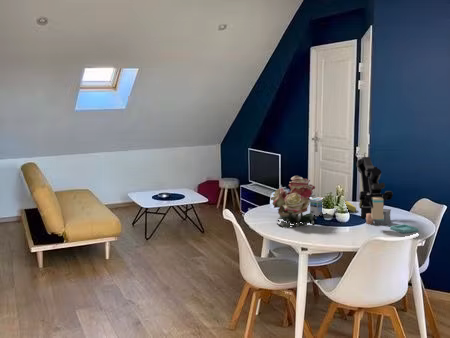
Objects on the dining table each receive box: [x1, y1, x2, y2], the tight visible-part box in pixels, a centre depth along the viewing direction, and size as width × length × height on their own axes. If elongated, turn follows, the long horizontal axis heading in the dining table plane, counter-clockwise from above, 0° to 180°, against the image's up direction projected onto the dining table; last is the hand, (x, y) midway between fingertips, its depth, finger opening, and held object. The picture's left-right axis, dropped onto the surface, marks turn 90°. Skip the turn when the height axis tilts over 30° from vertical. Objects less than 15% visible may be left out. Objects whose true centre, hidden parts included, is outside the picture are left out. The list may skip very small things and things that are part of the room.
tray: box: [389, 223, 420, 234], centre depth 292 cm, size 11×11×2 cm
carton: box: [371, 197, 385, 219], centre depth 293 cm, size 6×6×12 cm
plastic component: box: [344, 199, 357, 213], centre depth 349 cm, size 20×7×10 cm
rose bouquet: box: [270, 175, 317, 228], centre depth 312 cm, size 26×29×30 cm
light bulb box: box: [309, 196, 324, 217], centre depth 335 cm, size 11×7×11 cm, turn 131°
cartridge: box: [365, 213, 374, 225], centre depth 309 cm, size 4×4×6 cm
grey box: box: [373, 208, 392, 226], centre depth 309 cm, size 8×9×8 cm
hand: (377, 207), depth 292 cm, fingers closed on carton, 5 cm apart
